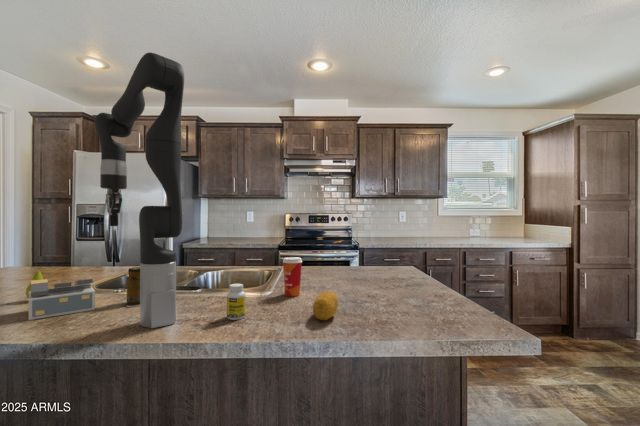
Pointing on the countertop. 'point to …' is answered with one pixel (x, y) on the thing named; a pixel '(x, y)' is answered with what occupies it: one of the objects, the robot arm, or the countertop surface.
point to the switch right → (83, 282)
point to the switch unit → (62, 301)
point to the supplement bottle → (236, 302)
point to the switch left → (39, 287)
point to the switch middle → (61, 284)
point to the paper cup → (292, 275)
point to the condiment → (133, 287)
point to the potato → (325, 305)
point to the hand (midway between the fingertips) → (113, 226)
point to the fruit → (36, 277)
